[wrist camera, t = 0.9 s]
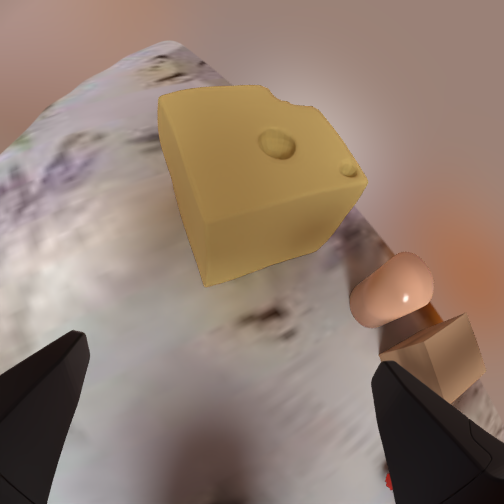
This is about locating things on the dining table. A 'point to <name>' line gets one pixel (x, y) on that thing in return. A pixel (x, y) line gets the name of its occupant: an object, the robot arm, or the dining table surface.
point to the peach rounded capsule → (392, 291)
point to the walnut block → (441, 357)
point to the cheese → (254, 177)
